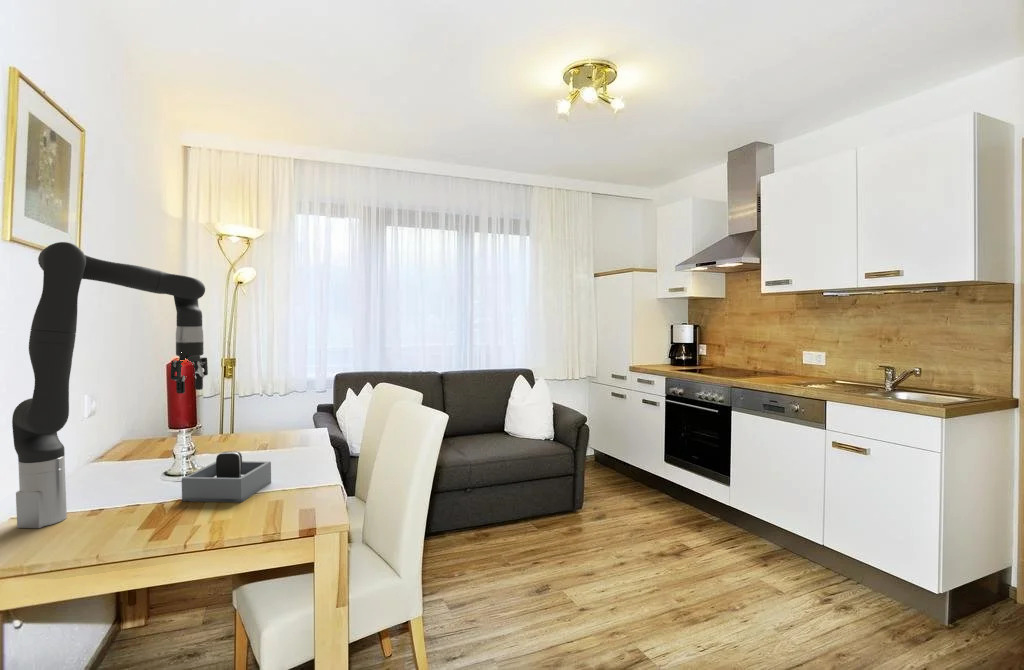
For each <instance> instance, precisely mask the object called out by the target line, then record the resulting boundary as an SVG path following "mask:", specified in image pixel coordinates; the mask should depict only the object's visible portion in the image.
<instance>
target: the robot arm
mask: <svg viewBox="0 0 1024 670" xmlns="http://www.w3.org/2000/svg"><path fill="white" fill-rule="evenodd" d="M37 261H38V265H39V267H40V268H41V270H42V272H43V280H42V282H43V283H42V284H43V285H42V291H41V295H40V299H39V302H38V304H37V306H36V309H35V310H34V311H35V312H34V315H33V317H32V323H31V327H30V332H29V339H28V353H29V359H30V362H31V367H32V370H33V376H34V385H33V386H34V387H33V388H34V389H33V393H32V398H27V399H25V400H23V401H22V402H20V403H19V404H18V405H17V406H15V408H14V411H13V413H12V419H11V420H12V421H11V424H12V436H13V445H14V446H13V447H14V450H15V452H16V454H17V460H18V487H19V490H17V491H16V492H15V504H16V505H15V508H16V528H18V529H19V528H20V529H42V528H43V527H47V526H50V525H54V524H58V523H60V522H62V521H64V520H65V519H67V517H68V511H67V508H68V507H67V486H66V484H67V483H66V462H65V461H66V459H65V458H66V456H65V455H66V454H65V446H64V444H63V443H62V442H61V441H60V439H59V435H58V432H59V431H61V430H62V429H63V428H64V427H65V425H66V424H67V422H68V419H69V415H70V377H71V371H72V364H73V357H74V356H73V355H74V349H75V344H76V337H77V324H78V301H79V300H78V297H79V292H80V288H81V283H82V280H88V281H89V280H90V281H95V282H102V283H107V284H112V285H117V286H120V287H125V288H128V289H129V288H130V289H133V290H138V291H141V292H142V291H143V292H148V293H153V294H158V295H159V294H160V295H169V296H173V300H174V304H175V305H174V306H175V310H176V328H175V329H176V330H175V355H176V356H177V357H179V358H178V360H174V359H173V360H171V361H170V380H171V381H174V382H176V383H175V384H176V386H175V387H176V388H175V389H176V394H185V393H186V381H185V380H186V378H185V376H184V375H183V376H182V375H181V367H182V365H181V363H182V362H183V361H180V360H185V358H186V359H188V360H189V361H191V362H192V363H194V368H195V376H194V389H195V388H196V389H195V390H196V391H202V390H203V388H204V378H205V376H208V375H209V372H208V371H209V368H208V358H207V357H201V356H203V355H204V330H203V328H204V327H203V312H202V310H201V309H200V307H199V299H201V298H203V296H205V294H206V293H205V292H206V285H205V284H204V283H203V282H202V280H200V279H198V278H195V277H191V276H187V275H182V274H176V273H168V272H166V271H162V270H158V269H154V268H150V267H145V266H141V265H140V266H139V265H133V264H129V263H128V264H127V263H121V262H113V261H108V260H103V259H101V258H100V259H99V258H96V257H92V256H88V255H86V254H85V253H84V251H83V250H82V249H81V248H80V247H79V246H77V245H75V244H74V243H72V242H69V241H68V242H67V241H59V242H55V243H52V244H50V245H48V246H46V247H45V248H44V249H42V250H41V252H40V253H39V254H38V258H37ZM181 352H182V353H181ZM173 361H174V362H173ZM171 362H172V363H171ZM187 362H188V361H187ZM192 365H193V364H192ZM176 372H177V373H176ZM176 375H177V376H176Z"/></svg>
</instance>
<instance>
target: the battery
mask: <svg viewBox="0 0 1024 670" xmlns="http://www.w3.org/2000/svg"><path fill="white" fill-rule="evenodd" d="M242 461H243V456H242V453H241V452H240V451H223V452H221V453H219V454H217V456H216V459H215V462H216V474H217V478H240V477H241V467H242Z"/></svg>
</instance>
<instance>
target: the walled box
mask: <svg viewBox="0 0 1024 670" xmlns="http://www.w3.org/2000/svg"><path fill="white" fill-rule="evenodd" d="M269 484H272V462H271V461H256V460H255V461H249V460H244V461H243V460H242V467H241V477H240V478H217V474H216V461H215V462H213V463H211V464H208V465H206V466H204V467H202V468H200V469H198V470H195V471H193V472H192V473H189V474H188V475H185V476H183V477H182V478H181V502H186V501H189V502H192V503H193V502H195V503H196V502H198V503H200V502H201V503H203V502H204V503H243V502H245V501H246V500H247V499H249V498H251V497H252V496H253V495H255V494H256V493H258V492H259V491H260V490H263V489H264V488H265V487H267V486H268V485H269ZM189 502H188V503H189Z"/></svg>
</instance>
